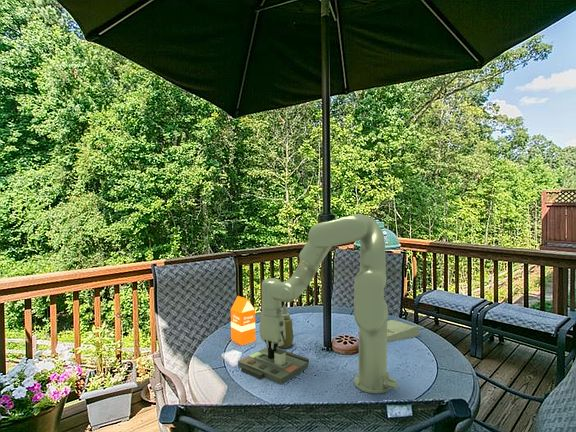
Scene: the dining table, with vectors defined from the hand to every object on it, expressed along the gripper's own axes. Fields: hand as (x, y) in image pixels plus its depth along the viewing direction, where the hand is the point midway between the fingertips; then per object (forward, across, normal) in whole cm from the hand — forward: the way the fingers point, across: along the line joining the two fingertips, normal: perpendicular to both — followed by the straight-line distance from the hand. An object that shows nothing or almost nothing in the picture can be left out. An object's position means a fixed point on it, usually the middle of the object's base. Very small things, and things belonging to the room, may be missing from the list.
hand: (272, 357), depth 139 cm
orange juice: (+4, +28, -11) cm, 30 cm away
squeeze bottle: (+4, +9, -18) cm, 20 cm away
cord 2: (+4, 0, -10) cm, 11 cm away
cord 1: (+4, +2, +9) cm, 10 cm away
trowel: (+4, -23, -57) cm, 61 cm away
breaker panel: (+4, 0, 0) cm, 4 cm away
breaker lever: (+1, -4, 0) cm, 4 cm away
